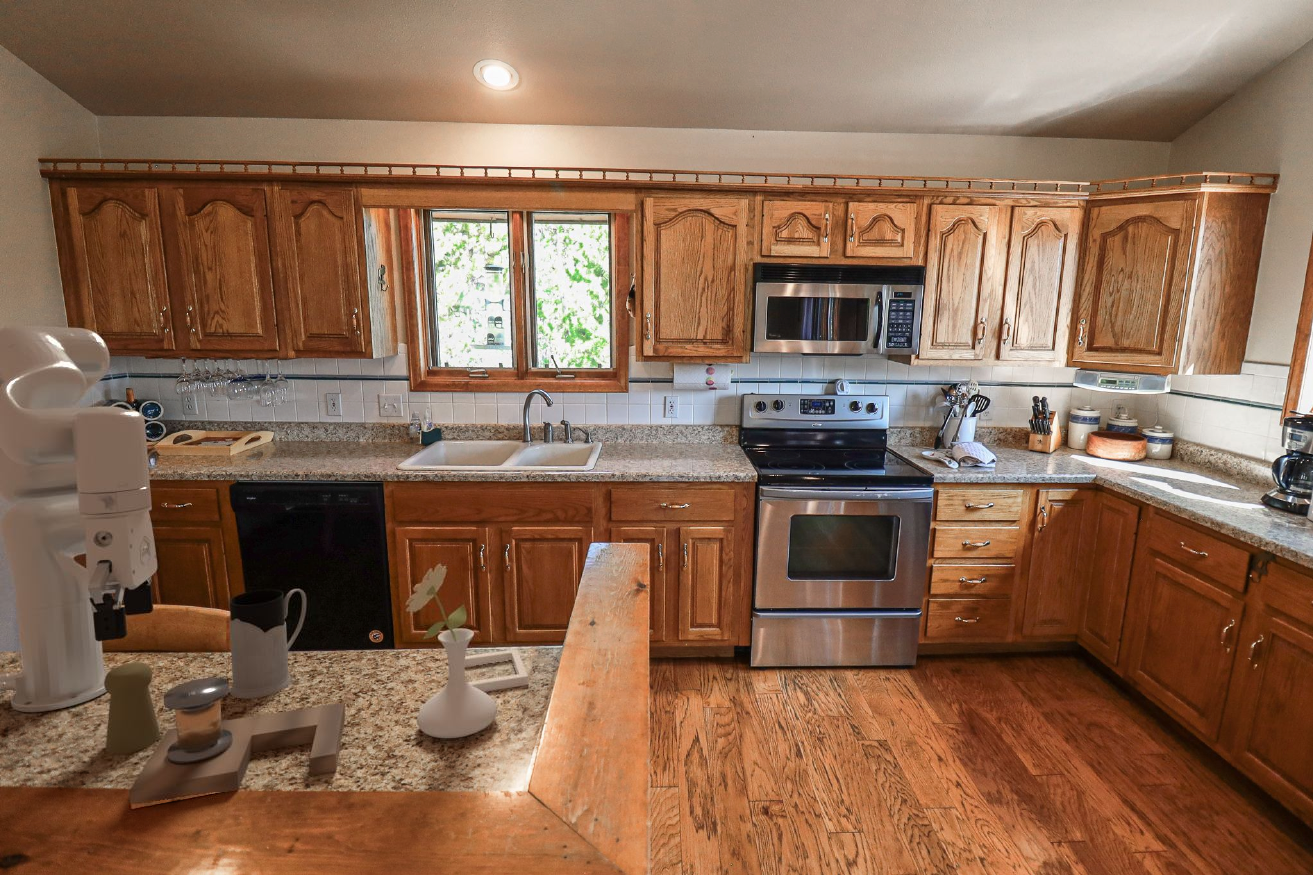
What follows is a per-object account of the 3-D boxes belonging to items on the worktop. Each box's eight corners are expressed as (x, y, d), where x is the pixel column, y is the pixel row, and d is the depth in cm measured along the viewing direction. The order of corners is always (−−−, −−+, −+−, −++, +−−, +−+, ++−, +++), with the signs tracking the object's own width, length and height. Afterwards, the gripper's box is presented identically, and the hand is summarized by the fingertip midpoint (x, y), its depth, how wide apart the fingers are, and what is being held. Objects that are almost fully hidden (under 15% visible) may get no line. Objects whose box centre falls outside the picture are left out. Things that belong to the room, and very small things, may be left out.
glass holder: (216, 693, 106) (211, 603, 104) (287, 657, 120) (283, 576, 118) (260, 701, 104) (255, 609, 102) (328, 663, 117) (324, 581, 116)
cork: (130, 757, 89) (124, 678, 88) (93, 751, 90) (87, 674, 89) (171, 732, 95) (166, 659, 94) (136, 727, 96) (131, 655, 95)
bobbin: (159, 769, 82) (155, 707, 81) (177, 739, 89) (173, 682, 88) (225, 758, 85) (221, 698, 84) (238, 730, 91) (234, 674, 90)
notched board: (130, 809, 78) (129, 790, 78) (169, 746, 91) (168, 729, 91) (336, 771, 86) (335, 753, 86) (344, 718, 99) (344, 702, 99)
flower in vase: (464, 698, 106) (461, 545, 103) (513, 720, 99) (511, 557, 97) (390, 734, 95) (384, 564, 92) (440, 762, 89) (435, 580, 86)
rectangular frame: (458, 695, 106) (457, 686, 106) (453, 666, 117) (452, 658, 117) (528, 684, 110) (528, 676, 110) (517, 656, 121) (517, 649, 121)
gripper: (124, 512, 82) (135, 645, 84) (170, 489, 98) (178, 602, 100) (48, 517, 79) (61, 654, 81) (108, 493, 95) (117, 608, 97)
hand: (126, 625), depth 90 cm, fingers open, 9 cm apart
